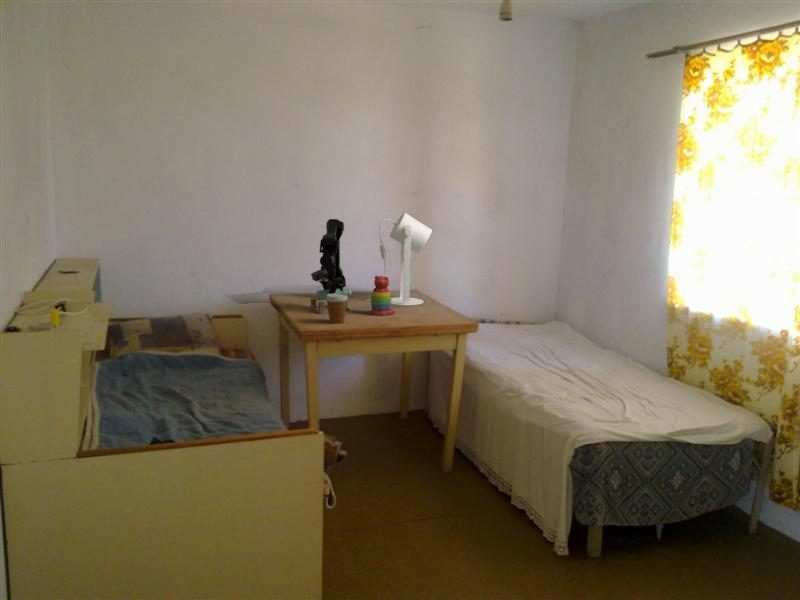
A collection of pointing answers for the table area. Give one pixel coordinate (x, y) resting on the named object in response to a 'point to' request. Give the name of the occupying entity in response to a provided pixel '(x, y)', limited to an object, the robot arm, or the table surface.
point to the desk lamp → (406, 252)
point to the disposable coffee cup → (336, 307)
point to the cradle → (320, 307)
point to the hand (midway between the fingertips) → (329, 296)
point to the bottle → (323, 293)
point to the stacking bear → (381, 297)
